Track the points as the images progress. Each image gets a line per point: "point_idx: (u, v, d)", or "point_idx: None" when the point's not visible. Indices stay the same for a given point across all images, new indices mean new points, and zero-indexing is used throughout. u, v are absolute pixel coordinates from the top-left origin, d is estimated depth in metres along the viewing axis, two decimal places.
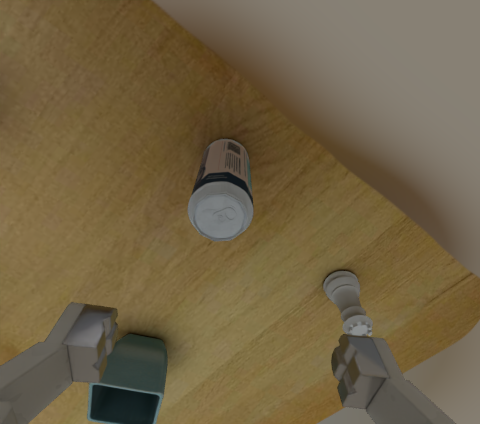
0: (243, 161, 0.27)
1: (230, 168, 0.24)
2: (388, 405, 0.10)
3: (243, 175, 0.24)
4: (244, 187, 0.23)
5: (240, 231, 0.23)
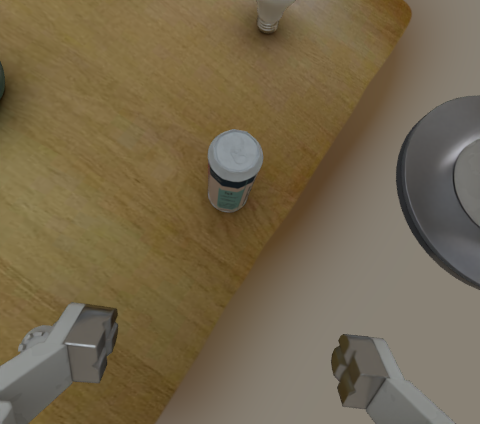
0: (247, 195, 0.33)
1: (257, 173, 0.30)
2: (388, 405, 0.10)
3: (251, 184, 0.29)
4: (254, 176, 0.27)
5: (223, 167, 0.26)
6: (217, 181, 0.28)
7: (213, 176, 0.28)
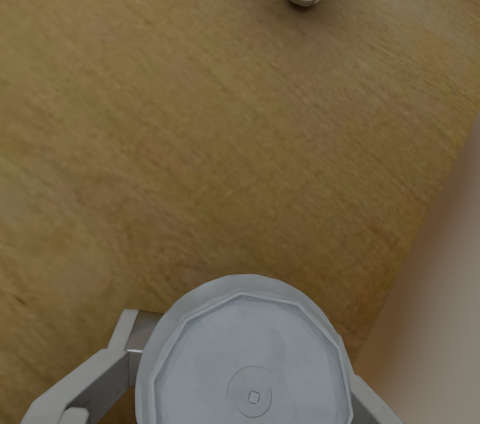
0: None
1: None
2: None
3: None
4: None
5: None
6: None
7: None
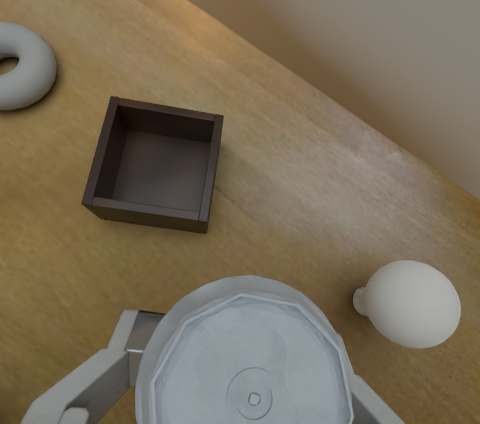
0: None
1: None
2: None
3: None
4: None
5: None
6: None
7: None
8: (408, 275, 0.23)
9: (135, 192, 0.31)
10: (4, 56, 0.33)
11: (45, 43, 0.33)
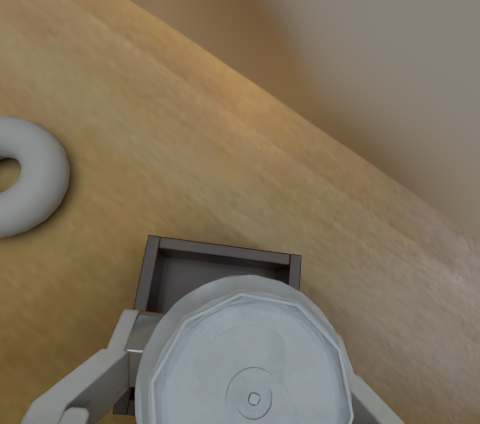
0: None
1: None
2: None
3: None
4: None
5: None
6: None
7: None
8: None
9: None
10: (0, 158, 0.25)
11: (55, 144, 0.25)
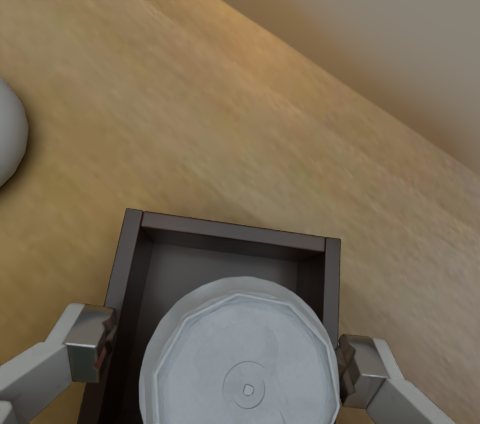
0: None
1: None
2: (388, 405, 0.10)
3: None
4: None
5: None
6: None
7: None
8: None
9: None
10: None
11: (6, 91, 0.18)
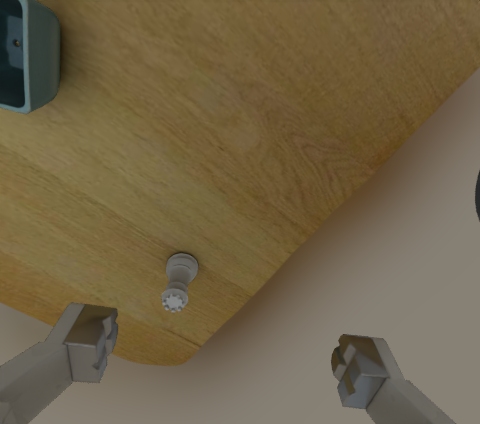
0: None
1: None
2: (388, 405, 0.10)
3: None
4: None
5: None
6: None
7: None
8: None
9: None
10: None
11: None
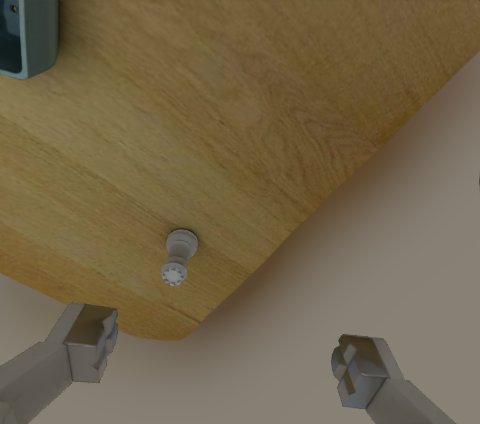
0: None
1: None
2: (388, 405, 0.10)
3: None
4: None
5: None
6: None
7: None
8: None
9: None
10: None
11: None
